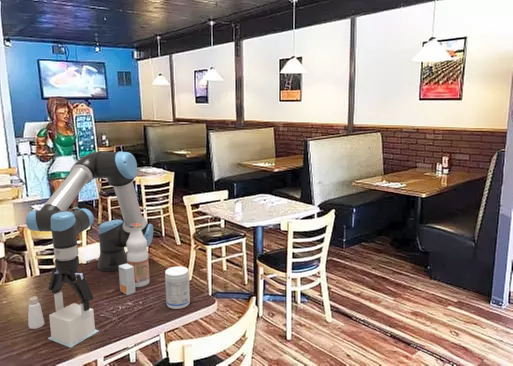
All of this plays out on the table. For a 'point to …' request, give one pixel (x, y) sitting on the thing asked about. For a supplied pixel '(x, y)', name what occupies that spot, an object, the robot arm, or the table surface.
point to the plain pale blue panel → (74, 343)
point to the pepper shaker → (35, 314)
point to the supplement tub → (177, 287)
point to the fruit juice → (138, 255)
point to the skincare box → (127, 279)
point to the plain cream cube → (71, 324)
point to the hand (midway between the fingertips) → (72, 313)
